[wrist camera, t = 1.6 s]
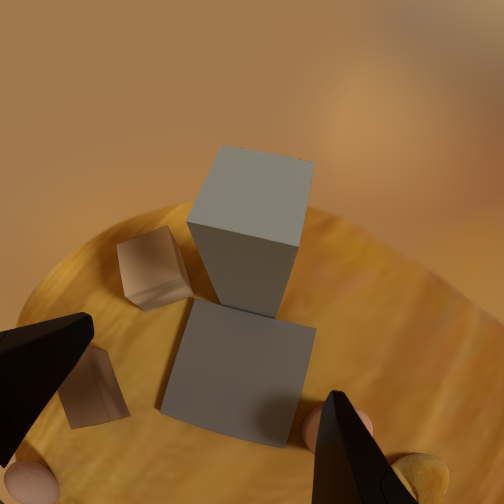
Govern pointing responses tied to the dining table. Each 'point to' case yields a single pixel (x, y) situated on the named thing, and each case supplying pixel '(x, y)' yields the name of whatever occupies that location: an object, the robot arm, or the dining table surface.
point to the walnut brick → (92, 391)
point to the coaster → (239, 373)
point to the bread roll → (423, 477)
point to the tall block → (251, 226)
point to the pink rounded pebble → (312, 425)
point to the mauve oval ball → (31, 483)
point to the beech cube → (153, 270)
